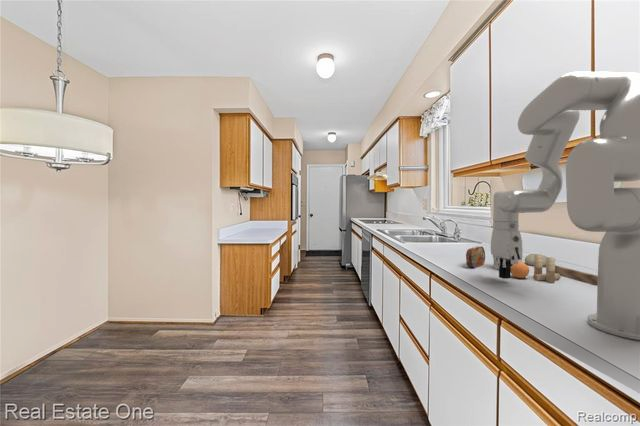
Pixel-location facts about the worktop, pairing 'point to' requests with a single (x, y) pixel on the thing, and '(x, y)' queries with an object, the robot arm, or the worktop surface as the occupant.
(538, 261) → the back left pin
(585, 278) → the brown wooden bar
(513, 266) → the ball
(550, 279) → the back right pin
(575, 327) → the worktop surface
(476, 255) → the tin
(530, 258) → the sea urchin shell
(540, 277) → the front pin
